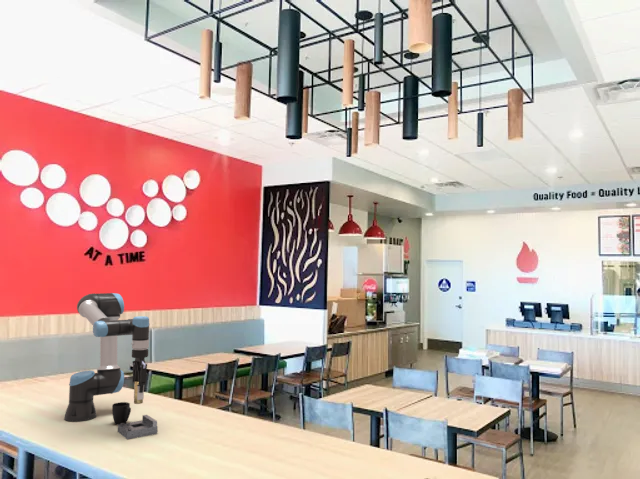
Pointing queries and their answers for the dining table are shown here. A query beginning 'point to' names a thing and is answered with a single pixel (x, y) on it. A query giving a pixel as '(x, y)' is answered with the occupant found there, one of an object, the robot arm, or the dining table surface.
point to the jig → (138, 428)
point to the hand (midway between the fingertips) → (138, 398)
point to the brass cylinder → (136, 394)
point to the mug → (121, 412)
